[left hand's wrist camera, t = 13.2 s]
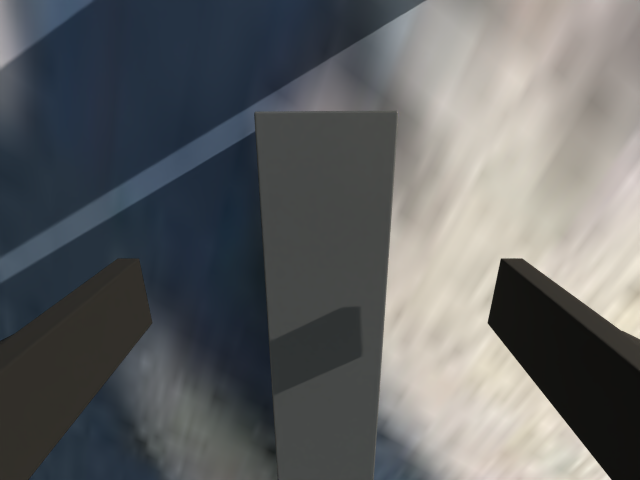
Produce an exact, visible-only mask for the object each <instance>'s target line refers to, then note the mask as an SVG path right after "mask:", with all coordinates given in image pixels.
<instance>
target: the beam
mask: <svg viewBox="0 0 640 480" xmlns="http://www.w3.org/2000/svg"><path fill="white" fill-rule="evenodd" d="M254 116H255V132H256V147H257V163H258V178H259V194H260V209H261V225H262V240H263V256H264V271H265V287H266V302H267V318H268V333H269V349H270V364H271V380H272V395H273V411H274V426H275V442H276V457H277V473H278V480H373V479H374V465H375V450H376V435H377V420H378V406H379V391H380V376H381V361H382V347H383V332H384V317H385V302H386V288H387V273H388V258H389V243H390V229H391V214H392V199H393V185H394V170H395V155H396V140H397V126H398V111H284V112H255V113H254Z"/></svg>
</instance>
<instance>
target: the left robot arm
mask: <svg viewBox="0 0 640 480" xmlns="http://www.w3.org/2000/svg"><path fill="white" fill-rule="evenodd" d="M151 324H152V319H151V314H150V309H149V304H148V300H147V295H146V290H145V285H144V280H143V276H142V271H141V266H140V261H139V259H117V260H115V261H114V262H113V263H111V264H110V265H108V266H107V267H106V268H104V269H103V270H102V271H100V272H99V273H97V274H96V275H95V276H93V277H92V278H91V279H89V280H88V281H86V282H85V283H84V284H82V285H81V286H80V287H78V288H77V289H75V290H74V291H73V292H71V293H70V294H69V295H67V296H66V297H64V298H63V299H62V300H60V301H59V302H58V303H56V304H55V305H54V306H52V307H51V308H49V309H48V310H47V311H45V312H44V313H43V314H41V315H40V316H38V317H37V318H36V319H34V320H33V321H32V322H30V323H29V324H27V325H26V326H25V327H23V328H22V329H21V330H19V331H18V332H16V333H15V334H13V335H11V336H9V337H7V338H5V339H3V340H1V341H0V480H29V478H30V477H31V476H32V474H33V473H34V472H35V471H36V469H37V468H38V467H39V466H40V464H41V463H42V462H43V461H44V459H45V458H46V457H47V456H48V454H49V453H50V452H51V450H52V449H53V448H54V447H55V445H56V444H57V443H58V442H59V440H60V439H61V438H62V437H63V435H64V434H65V433H66V432H67V430H68V429H69V428H70V426H71V425H72V424H73V423H74V421H75V420H76V419H77V418H78V416H79V415H80V414H81V413H82V411H83V410H84V409H85V408H86V406H87V405H88V404H89V402H90V401H91V400H92V399H93V397H94V396H95V395H96V394H97V392H98V391H99V390H100V389H101V387H102V386H103V385H104V384H105V382H106V381H107V380H108V378H109V377H110V376H111V375H112V373H113V372H114V371H115V370H116V368H117V367H118V366H119V365H120V363H121V362H122V361H123V360H124V358H125V357H126V356H127V354H128V353H129V352H130V351H131V349H132V348H133V347H134V346H135V344H136V343H137V342H138V341H139V339H140V338H141V337H142V336H143V334H144V333H145V332H146V330H147V329H148V328H149V327H150V325H151ZM488 324H489V325H490V327H491V328H492V329H493V330H494V332H495V333H496V334H497V336H498V337H499V338H500V339H501V341H502V342H503V343H504V344H505V346H506V347H507V348H508V349H509V351H510V352H511V353H512V354H513V356H514V357H515V358H516V360H517V361H518V362H519V363H520V365H521V366H522V367H523V368H524V370H525V371H526V372H527V373H528V375H529V376H530V377H531V378H532V380H533V381H534V382H535V384H536V385H537V386H538V387H539V389H540V390H541V391H542V392H543V394H544V395H545V396H546V397H547V399H548V400H549V401H550V402H551V404H552V405H553V406H554V408H555V409H556V410H557V411H558V413H559V414H560V415H561V416H562V418H563V419H564V420H565V421H566V423H567V424H568V425H569V426H570V428H571V429H572V430H573V432H574V433H575V434H576V435H577V437H578V438H579V439H580V440H581V442H582V443H583V444H584V445H585V447H586V448H587V449H588V450H589V452H590V453H591V454H592V456H593V457H594V458H595V459H596V461H597V462H598V463H599V464H600V466H601V467H602V468H603V469H604V471H605V472H606V473H607V474H608V476H609V477H610V478H611V480H640V339H638V338H636V337H634V336H632V335H630V334H628V333H626V332H624V331H621V330H619V329H618V328H617V327H615V326H614V325H613V324H611V323H610V322H608V321H607V320H606V319H604V318H603V317H602V316H600V315H599V314H597V313H596V312H595V311H593V310H592V309H591V308H589V307H588V306H586V305H585V304H584V303H582V302H581V301H580V300H578V299H577V298H576V297H574V296H573V295H571V294H570V293H569V292H567V291H566V290H565V289H563V288H562V287H560V286H559V285H558V284H556V283H555V282H554V281H552V280H551V279H549V278H548V277H547V276H545V275H544V274H543V273H541V272H540V271H538V270H537V269H536V268H534V267H533V266H532V265H530V264H529V263H527V262H526V261H525V260H523V259H501V261H500V266H499V271H498V276H497V280H496V285H495V290H494V295H493V300H492V304H491V309H490V314H489V319H488Z"/></svg>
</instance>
